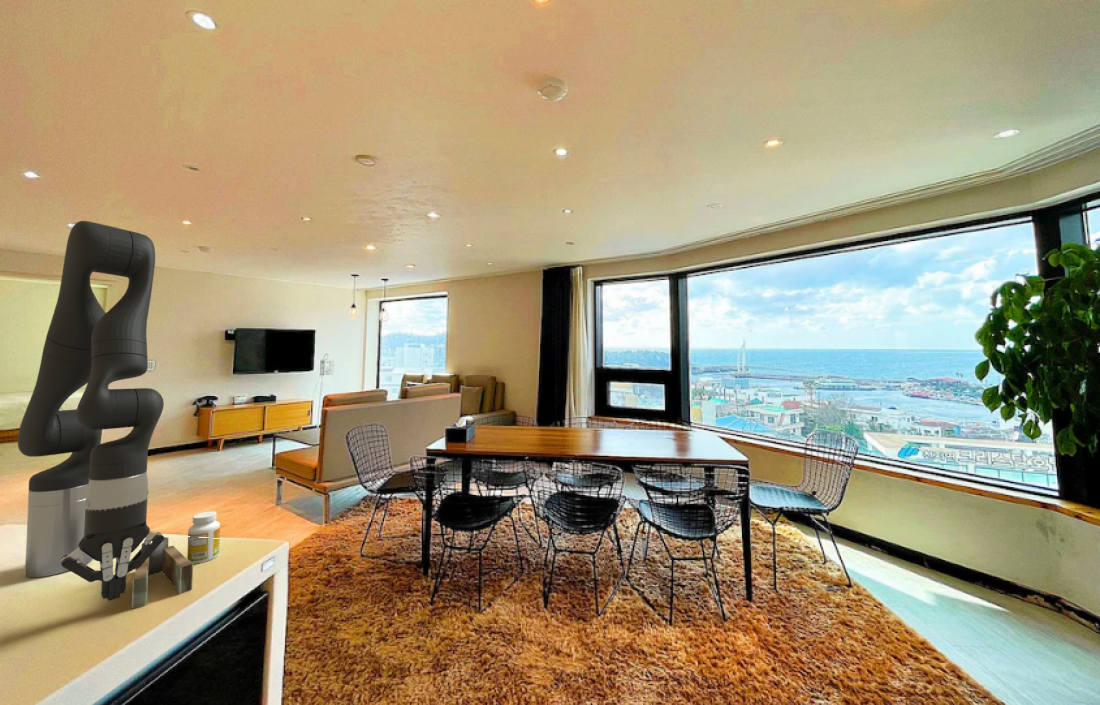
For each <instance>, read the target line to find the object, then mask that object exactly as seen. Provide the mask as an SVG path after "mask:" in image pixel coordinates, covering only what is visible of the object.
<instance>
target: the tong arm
mask: <svg viewBox="0 0 1100 705" xmlns="http://www.w3.org/2000/svg"><path fill="white" fill-rule="evenodd" d="M149 577H150V575H149V557H148V558H147V560H146V561H145V562H144V563H143V564H142V565H141V567H139V568H138V569H135V573H134V574H133V578H132V592H131V593H132V595H131V596H132V597H131V609H135V608H140V607H143V606H145V605H147V600H148V586H149V585H148V583H149Z"/></svg>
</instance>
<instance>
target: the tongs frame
mask: <svg viewBox="0 0 1100 705" xmlns="http://www.w3.org/2000/svg"><path fill="white" fill-rule="evenodd" d="M144 545H145V543H144V542H141V548H142V547H143V546H144ZM161 571H162V572H163V573H164V574H165V575H164V574H163V573H162V572H161ZM193 572H194V564H193V563H191V562H190V561H189V560H187V557H186V556H184V555H183V553H181V551H180V550H178V549H177V548H176V546H174V545H170V546H169V538H168V537H165V536H164V540H163V541H162V542H161V544H160V545H159V546H158V547H157V548H156V549H155V550H154V552H153V553H152V554H151V555H150V556H149V576H152V575H156V574H159V573H162V574H163V575H164V576H165V577H166V579H167V580H168V579H169V580H170V581H171V582H170V581H169V580H168V581H169V582H170V584H171V585H173V587H174V589H175V590H176V592H178V593H179V594H180V595H181V594H184V593H187V592H189V591H192V590H193V582H194V581H193V580H194V579H193V577H194V574H193ZM155 573H156V574H155Z"/></svg>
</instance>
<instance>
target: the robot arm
mask: <svg viewBox="0 0 1100 705" xmlns="http://www.w3.org/2000/svg"><path fill="white" fill-rule="evenodd" d="M155 268H156V249H155V244H154V242H153V240H152V239H151V238H150V237H149V236H147V235H146V234H143V233H139V232H135V231H131V230H128V229H124V228H123V229H122V228H119V227H116V226H111V225H107V224H102V223H98V222H93V221H90V220H89V221H88V220H80V221H78V222H76V223H75V224H74V225H73V226H72V228H71V229H70V231H69V234H68V238H67V242H66V248H65V254H64V260H63V266H62V273H61V280H60V286H59V293H58V297H57V299H56V300H57V301H56V305H55V307H54V311H53V314H52V317H51V320H50V323H49V327H48V330H47V332H46V337H45V341H44V346H43V348H42V354H41V355H42V356H41V359H40V365H39V370H38V374H37V378H36V381H35V384H34V385H35V386H34V388H33V392H32V395H31V397H30V399H29V401H28V405H27V406H26V410H25V411H24V415H23V418H22V420H21V423H20V426H19V430H18V434H17V447H18V451H19V452H20V453H21V454H22V455H24V456H26V457H30V458H31V457H33V458H36V457H47V456H55V455H64V454H70V453H71V454H70V456H69V457H68V458H66V459H65V460H63V461H62V462H60V463H58V464H56V465H54V466H52V467H50V468H47V469H45V470H42V471H39V472H37V473H35V474H33V475H32V476H31V477H30V478H29V481H28V492H27V493H28V494H27V496H28V498H27V517H26V518H27V521H26V543H25V544H26V545H25V547H26V548H25V550H26V551H25V565H24V567H25V568H24V570H25V571H24V576H26V577H27V578H43V577H48V576H52V575H57V574H63V573H65V572H71V573H73V574H75V576H78V577H80V578H82V579H84V580H85V581H87V582H88V583H93V582H96V581H100V583H101V584H100V596H101V597H102V599H103V600H106V601H107V602H110V601H114V600H117V599H121V595H122V594H125V592H126V586H127V575H128V574H129V573H130V572H132V571H134V570H136V569H138V568H139V567H141V565H142V564H143V563H144V562H145V561H146V560H147V558H148V557H149V556H150V555H151V554H152V553H153V552H154V550H155V549H156V548H157V547H158V546H159V545H160V544H161V542H162V541H163V540H164V537H165V536H164V534H162V533H161V532H158V531H157V532H153V531H151V528H150V527H149V525H148V523H147V516H148V515H147V514H148V496H149V491H150V490H149V480H148V472H147V471H148V457H149V456H148V455H149V454H148V453H149V446H150V444H151V439H152V437H153V434H154V431H155V430H156V427H157V425H158V422H159V420H160V418H161V415H162V412H163V410H164V398H163V397H162V395H161V393H160V392H159V391H158V390H156V389H154V388H151V387H150V388H149V387H148V388H147V387H143V388H142V387H139V388H137V387H136V388H109V385H110V384H112V383H114V382H117V381H123V380H128V379H133V378H138V377H140V376H143V375H145V374H146V373H147V372H148V368H149V367H148V366H149V363H148V362H149V361H148V343H147V342H148V340H147V326H148V318H149V317H148V316H149V310H150V305H151V298H152V290H153V282H154V274H155ZM93 273H99V274H105V275H111V276H112V275H113V276H118V277H123V278H127V279H128V284H127V289H126V290H125V292H124V294H123V295H122V297H121V298H120V299H119V300H118V301H117V302H116V303H115V304H114V305H113V306H112V307H111V308H110V309H109V310H108V311H105V309H103V307H102V306H101V304H100V303H99V300H98V299H97V297H96V295H95V293H94V291H93V289H92V285H91V276H92V274H93ZM85 385H86V386H85ZM84 386H85V389H84V391H83V394H82V395H81V397H80V400H79V402H78V404H77V408H76V409H66V410H65V409H62V410H60V409H61V407H62V406H63V404H65V402H66V401H67V400H68V399H69V398H70V397H71V396H72V395H73V394H75V393H76V392H77V391H79V390H80V389H81V388H83V387H84ZM123 428H132V429H131V431H130V432H129V433H128V434H127V435H125V436H124V437H121V438H118V439H114V440H110V441H107V442H105V441H104V442H102V434H103V430H114V429H123ZM142 543H145V545H144V546H143V547H142V546H141V548H140V549H139V550H138V552H137V553H136V554H135V555H134V556H133V557H132V558H131V554H132V553H133V552H134V551H135V550H136V549H137V548H138V547H139V546H140V545H141V544H142ZM114 559H115V568H113V567H114V561H113V560H114ZM93 560H94V561H96V562H99V565H100V566H99V567H100V568H99V569H100V570H96V569H93V568H92V567H90V566H89V565H87V564H89V563H90V562H92V561H93Z"/></svg>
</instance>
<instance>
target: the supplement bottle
mask: <svg viewBox="0 0 1100 705" xmlns="http://www.w3.org/2000/svg"><path fill="white" fill-rule="evenodd" d="M216 519H217V512H216V511H204V512H198V513H196V514H194V515H193V516H192V525H191V526H190V527H189V528H188V530H187V531H188V532H187V556H186V559H187V560H189V561H190V562H191V563H192V564H193V563H195V564H200V563H206V562H208V561H212V560H213V558H214V559H215V558H217V557H218V556H219V555H220V540H221V538H220V537H221V535H220V534H221V532H220V531H221V524H220V523H221V522H219V521H218V520H216ZM188 536H190V537H188ZM199 537H209V538H199ZM213 538H220V539H213Z"/></svg>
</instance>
